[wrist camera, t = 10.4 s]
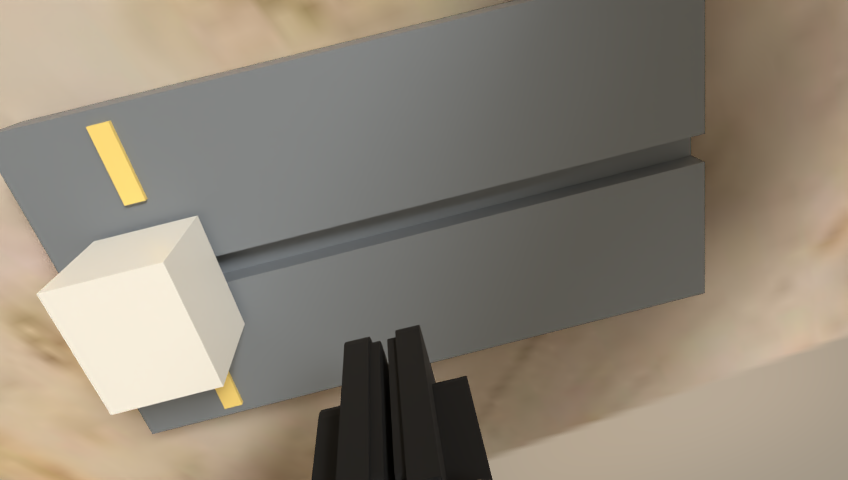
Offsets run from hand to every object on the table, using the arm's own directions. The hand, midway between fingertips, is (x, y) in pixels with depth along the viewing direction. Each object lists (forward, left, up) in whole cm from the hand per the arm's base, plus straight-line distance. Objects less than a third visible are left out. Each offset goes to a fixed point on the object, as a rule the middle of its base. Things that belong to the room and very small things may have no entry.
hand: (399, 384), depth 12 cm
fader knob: (+9, +1, -11) cm, 14 cm away
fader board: (0, +1, -13) cm, 13 cm away
